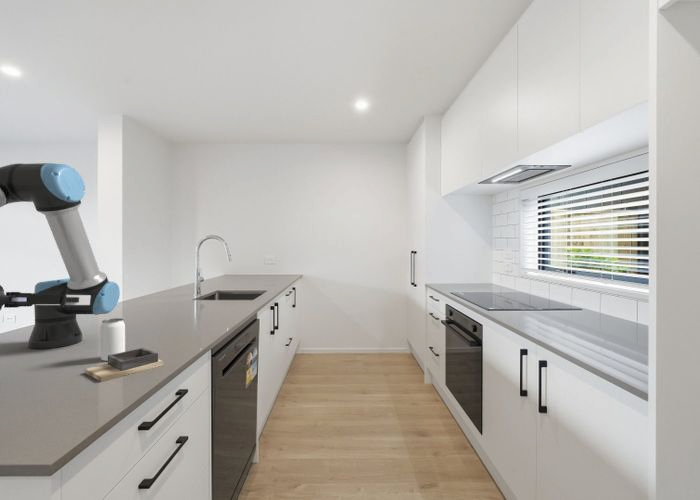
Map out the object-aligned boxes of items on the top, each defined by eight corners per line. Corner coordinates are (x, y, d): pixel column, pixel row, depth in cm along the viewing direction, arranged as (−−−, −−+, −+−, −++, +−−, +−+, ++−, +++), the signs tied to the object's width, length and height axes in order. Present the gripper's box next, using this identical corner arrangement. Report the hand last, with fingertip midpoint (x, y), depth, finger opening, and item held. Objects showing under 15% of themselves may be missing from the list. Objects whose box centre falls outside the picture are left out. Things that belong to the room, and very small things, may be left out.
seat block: (85, 373, 100) (85, 359, 100) (145, 358, 113) (145, 346, 113) (101, 381, 93) (101, 367, 93) (163, 365, 106) (163, 352, 106)
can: (113, 362, 109) (112, 322, 109) (95, 360, 110) (94, 321, 110) (130, 355, 115) (129, 318, 115) (113, 354, 117) (112, 317, 116)
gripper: (-49, 314, 90) (50, 312, 109) (-1, 316, 80) (100, 313, 99) (-44, 284, 91) (53, 288, 110) (4, 282, 81) (103, 286, 100)
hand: (75, 300), depth 105 cm, fingers open, 13 cm apart
